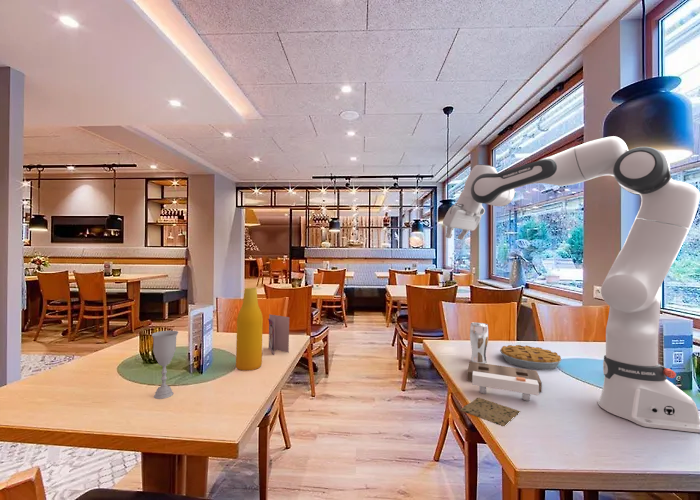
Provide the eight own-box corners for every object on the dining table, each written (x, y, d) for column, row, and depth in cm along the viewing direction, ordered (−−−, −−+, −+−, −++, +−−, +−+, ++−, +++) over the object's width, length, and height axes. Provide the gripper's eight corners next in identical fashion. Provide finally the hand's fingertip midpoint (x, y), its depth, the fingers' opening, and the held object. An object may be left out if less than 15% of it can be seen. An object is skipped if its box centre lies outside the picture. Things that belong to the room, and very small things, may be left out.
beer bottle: (230, 369, 118) (232, 288, 119) (244, 361, 127) (246, 286, 128) (253, 372, 116) (255, 289, 116) (266, 363, 125) (268, 287, 125)
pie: (572, 373, 121) (572, 360, 121) (509, 369, 124) (509, 356, 125) (546, 355, 143) (547, 344, 143) (493, 352, 146) (493, 341, 146)
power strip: (536, 398, 98) (537, 378, 98) (538, 404, 95) (538, 382, 95) (472, 388, 105) (472, 369, 105) (472, 392, 102) (472, 373, 102)
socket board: (536, 379, 114) (536, 370, 114) (541, 392, 103) (541, 382, 103) (469, 369, 123) (469, 361, 123) (467, 380, 112) (467, 371, 112)
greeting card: (266, 348, 145) (267, 314, 145) (283, 346, 148) (284, 313, 149) (271, 355, 135) (272, 319, 135) (289, 353, 138) (290, 318, 138)
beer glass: (484, 359, 136) (485, 322, 136) (490, 364, 129) (490, 326, 129) (467, 358, 136) (468, 322, 137) (472, 363, 129) (472, 325, 130)
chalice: (152, 391, 98) (154, 331, 99) (178, 388, 101) (179, 329, 101) (147, 402, 92) (149, 337, 92) (174, 398, 94) (176, 335, 94)
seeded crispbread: (521, 413, 90) (521, 409, 90) (504, 428, 82) (504, 424, 82) (478, 398, 99) (478, 395, 99) (459, 411, 90) (459, 408, 90)
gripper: (461, 205, 119) (446, 240, 123) (487, 211, 132) (472, 242, 136) (447, 199, 123) (433, 233, 127) (473, 206, 137) (460, 236, 141)
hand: (454, 238), depth 132 cm, fingers open, 8 cm apart
